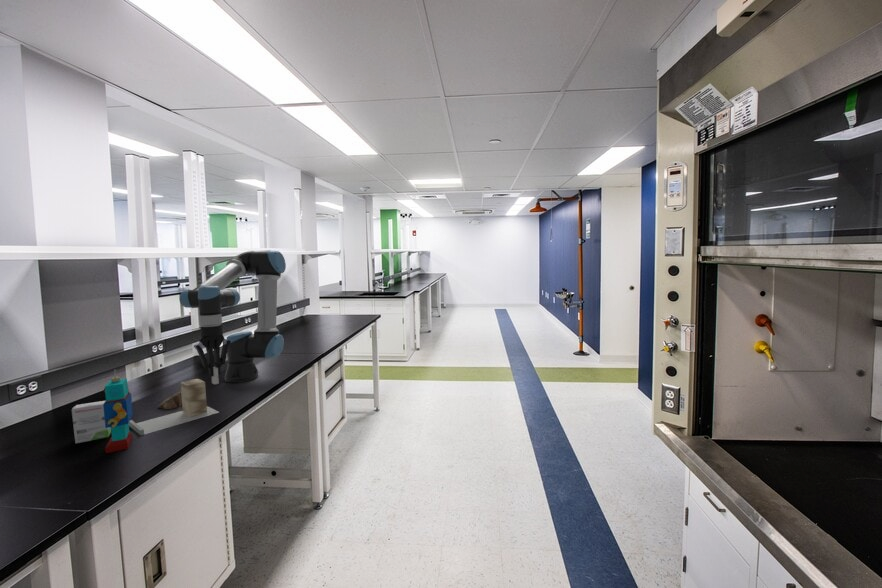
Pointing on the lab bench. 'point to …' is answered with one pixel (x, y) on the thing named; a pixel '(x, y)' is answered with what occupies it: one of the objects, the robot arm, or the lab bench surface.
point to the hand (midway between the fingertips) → (215, 383)
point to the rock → (172, 401)
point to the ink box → (89, 422)
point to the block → (193, 397)
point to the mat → (165, 421)
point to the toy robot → (118, 413)
